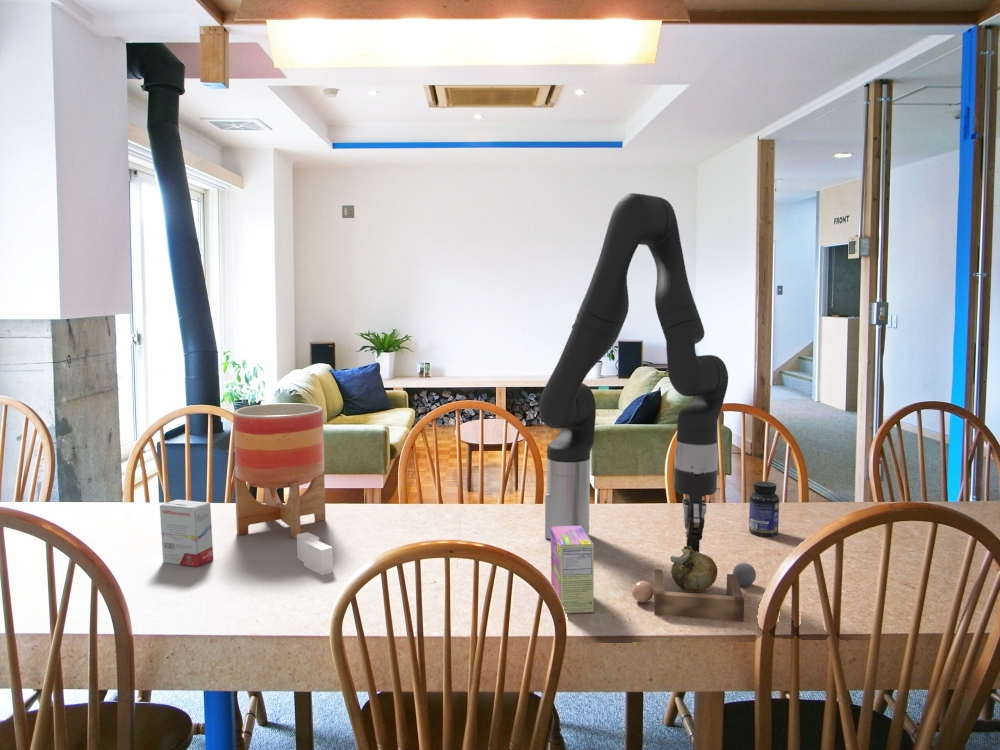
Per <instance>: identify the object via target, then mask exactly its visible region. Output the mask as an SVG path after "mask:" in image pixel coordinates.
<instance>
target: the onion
mask: <svg viewBox="0 0 1000 750" xmlns="http://www.w3.org/2000/svg"><path fill="white" fill-rule="evenodd" d="M680 551H681V552H682V555H680V556H677V555H676V556H675V555H672V556H670V561H671V563H673V564H672V565H671V568H670V574H671V578H672V580H673V582H674V583H675V584H676V585H677V587H679V588H680V589H682V590H683V591H686V592H688V593H701V592H703V591H705V590H707V589H709V588H710V587H712V586H713V584H714V583H715V582H716V581H717V576H718V567H717V565H716V563H715V560H713V558H712V557H710V555H707V554H705V553H701V552H700V551H699V552H697V551H696V552H695V551H693V550H692V548H691V547H689V546H686V545H684V546H683V548H682V549H681V550H680Z"/></svg>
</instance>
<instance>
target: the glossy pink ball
mask: <svg viewBox="0 0 1000 750" xmlns="http://www.w3.org/2000/svg"><path fill="white" fill-rule="evenodd" d="M631 595H632V597H633V599H634V600H635V601H637V602H638V603H642V604H645V603H649V601H651V600H652V599H653V597H654V587H653V586H652V585H651V584H650V583H649V582H648V581H646V580H638V581H636V582H635V583H634V584H633V586H632V588H631Z"/></svg>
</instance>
